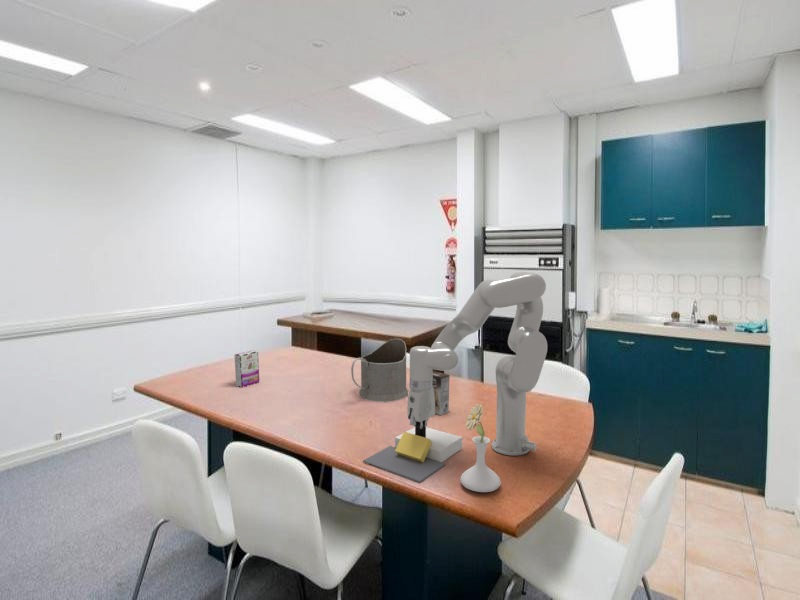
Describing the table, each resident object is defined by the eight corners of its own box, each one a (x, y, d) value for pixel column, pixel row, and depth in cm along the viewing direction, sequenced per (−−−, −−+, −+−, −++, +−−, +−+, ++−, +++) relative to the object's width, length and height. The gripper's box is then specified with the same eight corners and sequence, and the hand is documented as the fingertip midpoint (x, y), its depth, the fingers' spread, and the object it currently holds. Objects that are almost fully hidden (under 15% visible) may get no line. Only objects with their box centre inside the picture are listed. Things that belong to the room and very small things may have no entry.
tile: (432, 442, 147) (429, 438, 146) (423, 462, 144) (420, 459, 142) (407, 435, 153) (404, 431, 152) (398, 454, 150) (394, 450, 148)
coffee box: (423, 410, 193) (423, 373, 192) (432, 406, 198) (432, 370, 196) (440, 415, 187) (440, 377, 186) (449, 411, 192) (450, 374, 190)
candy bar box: (253, 381, 238) (252, 350, 237) (259, 382, 236) (258, 351, 234) (235, 386, 229) (233, 354, 227) (241, 387, 226) (240, 355, 225)
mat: (445, 465, 143) (445, 463, 143) (419, 483, 132) (419, 481, 132) (390, 447, 157) (390, 445, 156) (362, 462, 145) (362, 460, 145)
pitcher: (418, 393, 217) (418, 341, 215) (370, 410, 194) (370, 352, 191) (383, 384, 233) (382, 335, 230) (335, 398, 209) (334, 345, 207)
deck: (462, 448, 156) (462, 437, 155) (440, 463, 145) (440, 451, 144) (418, 435, 167) (418, 425, 166) (395, 448, 155) (395, 437, 155)
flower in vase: (463, 474, 138) (464, 393, 135) (502, 479, 134) (504, 396, 132) (456, 496, 125) (457, 407, 123) (498, 502, 122) (500, 411, 119)
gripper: (417, 391, 141) (416, 448, 143) (442, 381, 153) (442, 434, 155) (397, 387, 146) (397, 442, 148) (424, 377, 158) (423, 429, 160)
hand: (420, 438), depth 151 cm, fingers closed
